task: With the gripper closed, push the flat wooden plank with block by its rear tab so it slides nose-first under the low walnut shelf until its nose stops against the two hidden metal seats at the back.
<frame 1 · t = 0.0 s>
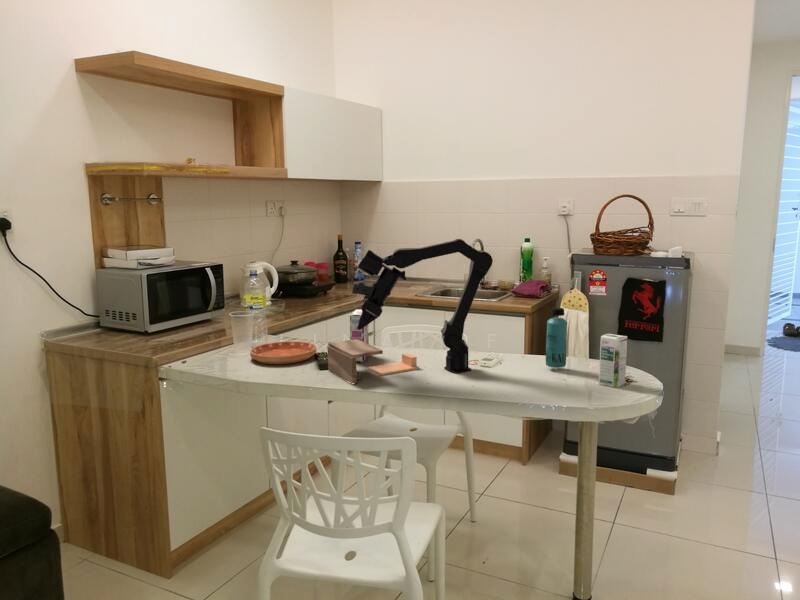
hand: (359, 326, 198), 15 cm above the counter, tool tilted 35°, fingers open, 9 cm apart
candy bar box: (360, 359, 217), on the counter
beverage bottle: (555, 370, 199), on the counter
saucer: (283, 358, 220), on the counter
wooden plank with block: (393, 370, 203), on the counter
overhang shelf: (360, 374, 197), on the counter
syrup box: (611, 384, 183), on the counter
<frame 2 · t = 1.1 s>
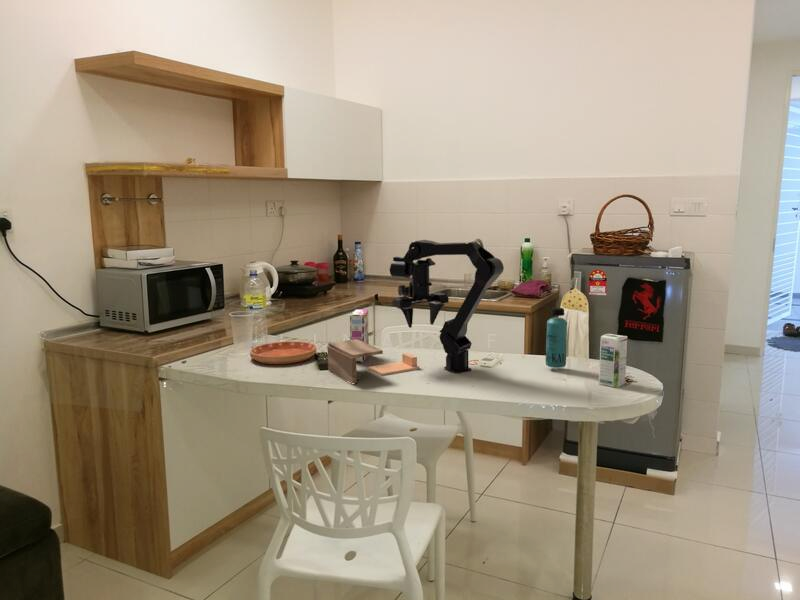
hand: (421, 326, 206), 13 cm above the counter, tool pointing down, fingers open, 8 cm apart
nothing on the counter moved.
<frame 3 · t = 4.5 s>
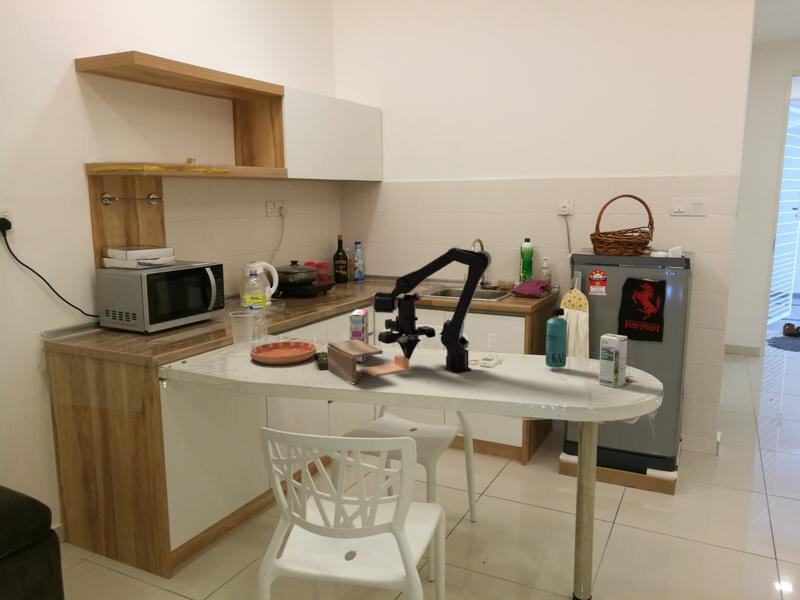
hand: (407, 360, 205), 2 cm above the counter, tool pointing down, fingers closed
wooden plank with block: (385, 372, 202), on the counter
everything else where it was.
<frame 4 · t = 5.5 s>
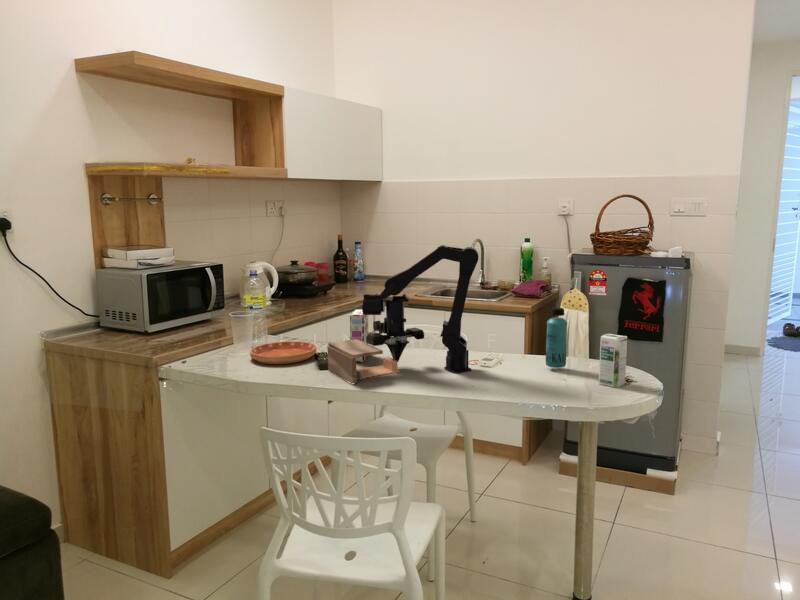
hand: (396, 362, 203), 2 cm above the counter, tool pointing down, fingers closed
wooden plank with block: (373, 374, 200), on the counter
everything else where it was.
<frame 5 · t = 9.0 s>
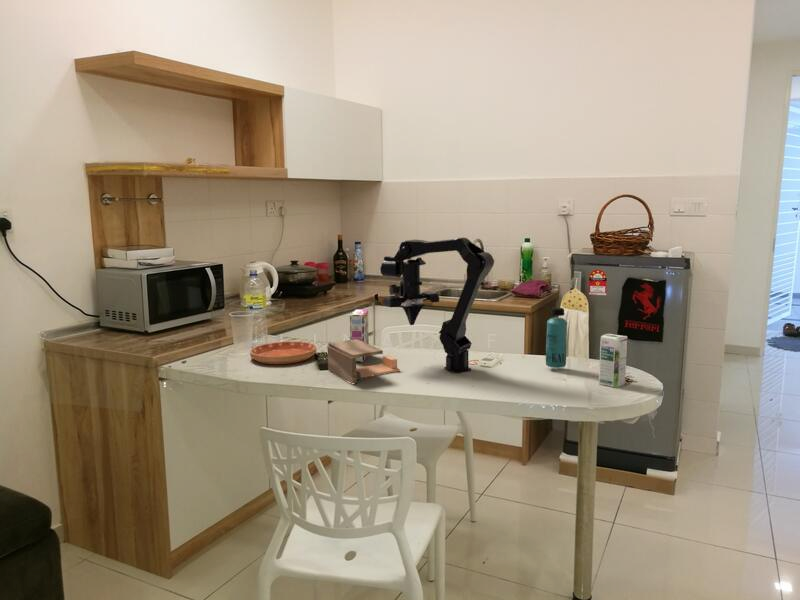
hand: (411, 324, 208), 13 cm above the counter, tool pointing down, fingers closed
at the end: wooden plank with block 1.4 cm from the target spot, on the counter; wooden plank with block tilted 0° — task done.
